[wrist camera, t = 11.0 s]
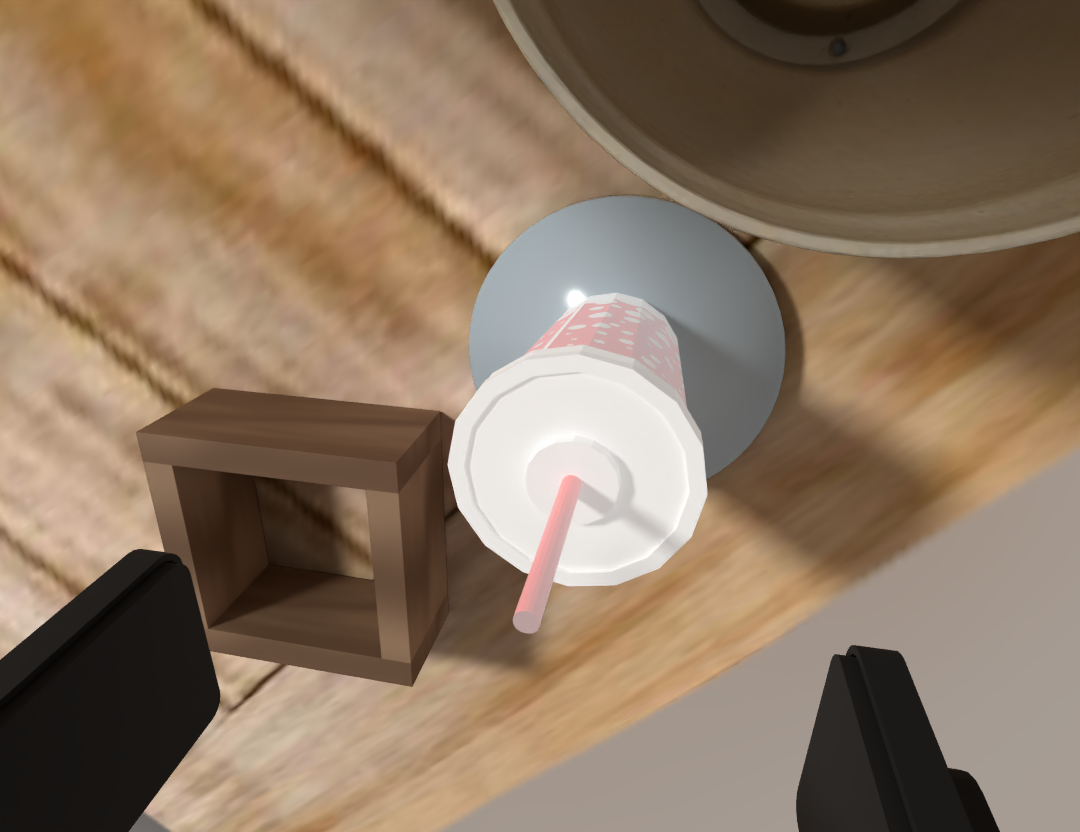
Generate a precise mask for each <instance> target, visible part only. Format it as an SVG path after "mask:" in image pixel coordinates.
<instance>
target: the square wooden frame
mask: <svg viewBox="0 0 1080 832" xmlns="http://www.w3.org/2000/svg"><path fill="white" fill-rule="evenodd" d="M136 435H137V439H138V443H139V447H140V451H141V455H142V460H143V464H144V468H145V472H146V476H147V480H148V485H149V489H150V493H151V497H152V501H153V505H154V510H155V514H156V518H157V522H158V526H159V530H160V535H161V539H162V543H163V547H164V551H165V552H166V553H173V554H176V555H178V556H179V557H180V558H181V560H182V563H183V565H186V566H187V567H188V568H189V571H190V573H191V577H192V581H193V585H194V589H195V593H196V597H197V601H198V605H199V609H200V613H201V617H202V621H203V625H204V629H205V633H206V638H207V642H208V646H209V650H210V651H213V652H218V653H224V654H230V655H235V656H241V657H247V658H252V659H258V660H264V661H269V662H275V663H281V664H286V665H292V666H298V667H303V668H309V669H315V670H320V671H326V672H332V673H337V674H343V675H348V676H354V677H360V678H365V679H371V680H377V681H382V682H388V683H394V684H399V685H405V686H411V687H412V686H413V684H414V682H415V680H416V678H417V676H418V674H419V672H420V670H421V668H422V666H423V664H424V662H425V660H426V658H427V656H428V654H429V652H430V650H431V648H432V646H433V644H434V642H435V640H436V638H437V636H438V633H439V631H440V629H441V627H442V625H443V623H444V621H445V619H446V617H447V615H448V613H449V612H448V588H447V564H446V540H445V516H444V492H443V468H442V445H441V421H440V411H433V410H423V409H413V408H403V407H393V406H384V405H374V404H364V403H354V402H344V401H335V400H325V399H315V398H305V397H295V396H286V395H276V394H266V393H256V392H247V391H237V390H227V389H217V388H213V389H211V390H209V391H208V392H206V393H204V394H202V395H201V396H199V397H197V398H195V399H194V400H192V401H190V402H188V403H187V404H185V405H183V406H181V407H180V408H178V409H176V410H174V411H173V412H171V413H169V414H167V415H166V416H164V417H162V418H160V419H158V420H157V421H155V422H153V423H151V424H150V425H148V426H146V427H144V428H143V429H141V430H139V431H137V432H136ZM254 476H261V477H269V478H277V479H285V480H293V481H301V482H309V483H317V484H325V485H333V486H341V487H349V488H357V489H365V490H366V498H367V508H368V519H369V530H370V540H371V551H372V561H373V572H374V580H367V579H360V578H354V577H347V576H340V575H334V574H327V573H320V572H314V571H307V570H300V569H294V568H287V567H280V566H274V565H269V564H268V558H267V552H266V546H265V540H264V534H263V528H262V522H261V516H260V510H259V505H258V499H257V493H256V487H255V481H254Z"/></svg>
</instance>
